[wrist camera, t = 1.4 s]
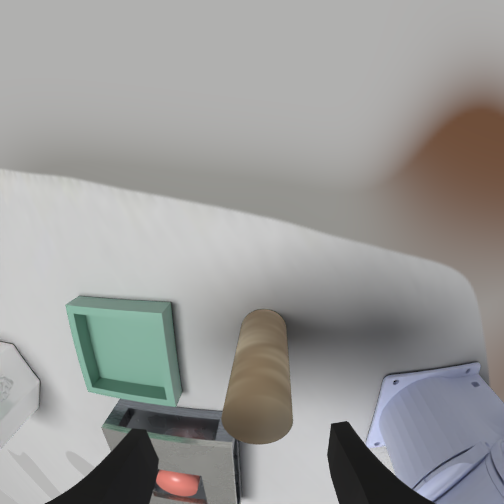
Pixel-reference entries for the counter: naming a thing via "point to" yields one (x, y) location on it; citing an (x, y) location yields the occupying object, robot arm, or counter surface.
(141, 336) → the tray
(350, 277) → the counter surface
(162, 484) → the button
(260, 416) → the dowel
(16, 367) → the jar
